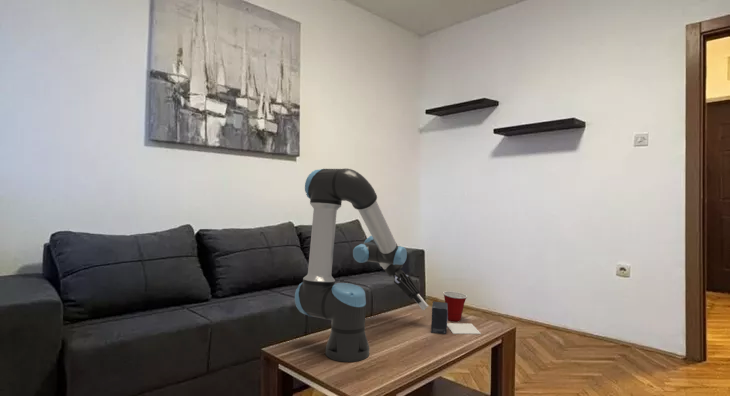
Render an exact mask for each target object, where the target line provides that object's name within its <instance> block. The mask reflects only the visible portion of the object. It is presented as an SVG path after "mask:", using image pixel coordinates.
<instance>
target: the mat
mask: <svg viewBox="0 0 730 396" xmlns="http://www.w3.org/2000/svg"><path fill="white" fill-rule="evenodd" d="M447 328H448V330H450V332H451V333H452V334H453V335H482V333H481V331H479V330H478V329H477V327H476V326H475V325H473V323H464V322H463V323H459V322H453V323H451V322H449V323H448V322H447Z"/></svg>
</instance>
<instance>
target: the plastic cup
mask: <svg viewBox="0 0 730 396" xmlns="http://www.w3.org/2000/svg"><path fill="white" fill-rule="evenodd" d="M442 294H443V298H444V303H447V307H448V318H447V321H449V322H453V323H459V322H460V321H461V319H462V315H463V311H464V306H465V302H466V299H467V298H468V295H467V294H465V293H463V292H459V291H453V290H447V291H446V290H445V291H443V292H442ZM458 321H459V322H458Z"/></svg>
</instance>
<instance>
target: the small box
mask: <svg viewBox="0 0 730 396" xmlns="http://www.w3.org/2000/svg"><path fill="white" fill-rule="evenodd" d="M447 323H448V307H447V303H445V302H443V301H442V302H441V301H432V306H431V324H430V327H431V328H430V333H431V334H441V335H447V330H448V329H447V328H448V327H447Z"/></svg>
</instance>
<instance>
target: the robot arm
mask: <svg viewBox="0 0 730 396" xmlns="http://www.w3.org/2000/svg"><path fill="white" fill-rule="evenodd" d="M304 192H305V196H306V197H307V198H308V199H309V205H310V206H311V207H312V209H313V211H312V223H311V224H312V225H311V235H310V237H311V238H310V246H309V255H308V256H309V259H308V266H307V267H308V269H307V274H306V275H305V276H304V277H303V278H302V282H301V283H299V285H298V286H297V288H296V289H295V293H294V303H295V306H296V308H297V310H298V311H299V313H301V314H303V315H306V316H307V317H311V318H312V317H314V318H318V319H319V318H320V319H323V320H328V321H331V323H330V325H331V330H330V334H329V336H328V340H327V343H326V344H325V355H326V357H327V358H329V359H331V360H332V361H337V362H345V363H346V362H347V363H349V362H350V363H351V362H359V361H362V360H365V359H367V358H368V357H369V356H370V344H369V342H368V341H369V340H368V337H367V335H366V331H365V330H366V305H367V299H366V291H365V290H364V288H363V287H361V286H359V285H356V284H353V283H346V282H337V283H336V280H335V278H334V277H333V276H332V271H333V261H334V249H335V248H334V247H335V235H336V225H337V224H336V223H337V213H338V212H337V211H338V210H339V209H340V208H341V207H342V202H343V201H345V202H346V201H347V202H349V203H350V204H351V205H352V207H353V208H354V209H355V210H357V211H358V212H359V215H360V216H361V218H362V220H363V222H364V224H365V226H366V228H367V230H368V231H369V234H370V236H368V237H367V238H366V239H365V240H364V242H363V243H360V244H358V245H356V246H355V247H354V248H353V249H352V257H353V259H354V261H356V262H357V263H360V264H361V263H363V264H364V263H366V262H371V263H378V264H379V267H382V269H383V270H384V271H385V273H386V274H387V275H388V277H393V279H394V281H393V283H394V284H395V285H396V286H398V287H399V288H400V289H401V291H402V292H404V294H405V295H407V296H408V298H410V300H412V299H413V300H414V301H415V303H416V304H417V305H418V306H419V307H420V309H421V310H422V311H425V310H426V309H427V308H428V307H429V304H428V303H427V302H426V301H425V300H424V298H423V297H422V296H421V295H420V294H421V291H420V290H419V288H418V287H417V285H416V284H415V282H414V281H413V279H412V278H411V275H410V273H406V272H404V270H403V269H402V268H403V265H404V264H405V262H406V261H407V257H408V252H407V248H406V247H404V246H401V245H398V244H397V242H396V239H395V238H394V236H393V234H392V231H391V229H390V227H389V225H388V223H387V220H386V218H385V217H384V214H383V213H382V210H381V208H380V206H379V204H378V201H377V200H378V196H377V192H376V191H375V189H374V187H373V186H372V184H371V183H370V182H369V181H368V180H367V179H366V177H365V176H363V175H362V174H361V173H359V172H358V171H356V170H353V169H352V168H320V169H314V170H313V171H311V173H309V174H308V175H307V177H306V179H305V182H304Z"/></svg>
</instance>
